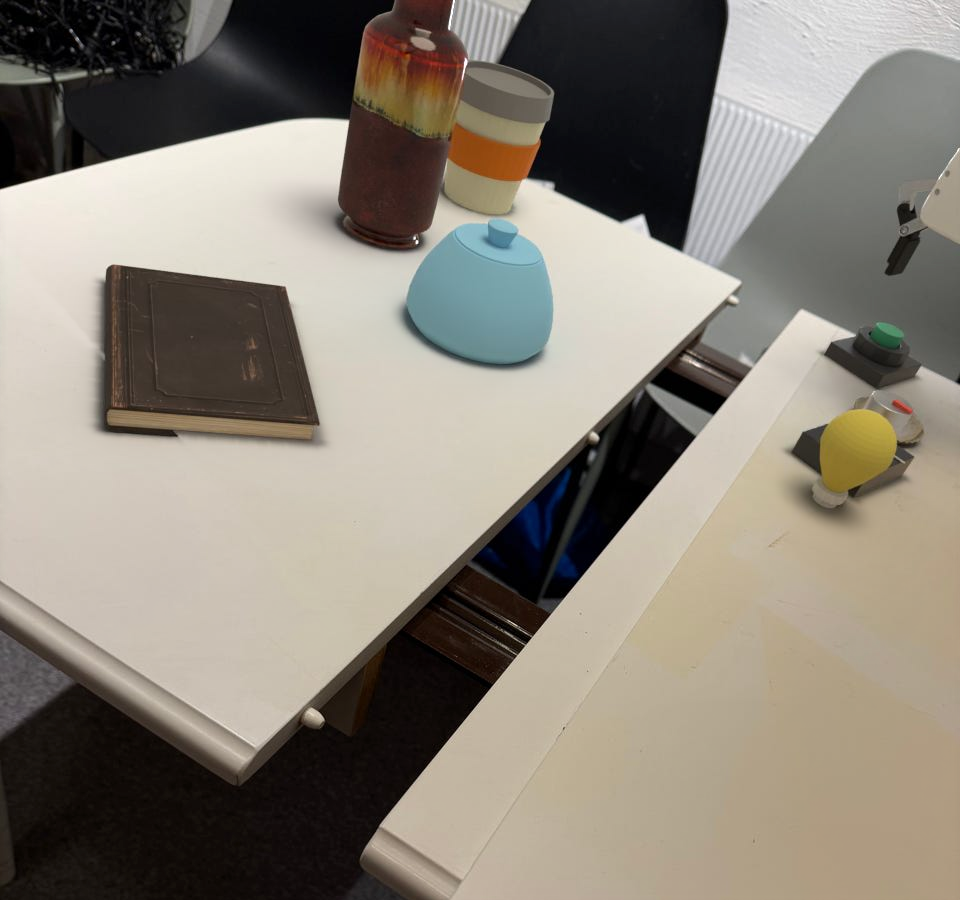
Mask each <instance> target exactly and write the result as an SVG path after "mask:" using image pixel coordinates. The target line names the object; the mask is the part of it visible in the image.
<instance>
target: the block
mask: <svg viewBox="0 0 960 900" xmlns="http://www.w3.org/2000/svg"><path fill="white" fill-rule="evenodd" d="M874 328H875V326H870V325H869V326H868V325H865V326H860V327H859V328H858V330H857V332H856V334H855V336H851V337H847V338H841V339H837V340H833V341H831V342H830V343H829V345H828V346H827V348H826V350H825V352H824V354H823V355H824V356H825V357H827V358H829V359H830V360H831V361H833V362H834V363H836V364H838V365H839V366H841V367H843V368H844V369H845V370H847V371H848V372H850V373H851V374H853V375H855V376H856V377H857V378H859V379H861V380H862V381H864V382H866V383H867V384H869V385H870V386H872V387H873V388H874V389H880V388H882V387H885V386H889V385H892V384H895V383H898V382H902V381H905V380H909V379H911V378H915V377H916V375H917V374H918V372H919V370H920V368H921V367H922V365H923V364H922V363H921V362H919V361H917V360H916V359H915V358H912V357H911V356H909V354H910V352H911V349H910V348H911V347H910V346H909V345H908V344H907V343H906V342H905V341H904V340H903V339H902V341H901V343H900V344H899V346H898V348H897V349H893V348H888V347H886V346H883V345H881V344H879V343H877V342H876V341H874V340H873V339H872V338H871V337H870V335H871V333H872V331H873V330H874Z"/></svg>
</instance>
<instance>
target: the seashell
mask: <svg viewBox="0 0 960 900" xmlns="http://www.w3.org/2000/svg"><path fill="white" fill-rule="evenodd" d="M869 397H870V396H865V397H863V396H862V397H859V398H858V399H856V400H855V402H854V408H853V410H857V409H863V408H864V406H865V404H866V403H867V401H868V399H869ZM916 415H917V414H915V411H914V412H913V414H912V416H911V417H910V419H909V420H908V422H907V423H906V425H905V426H904V428H903V430H902V431H901V433H900V434H899V436H898V437H897V444H904V445H908V444H915V443H916V444H917V443H918V442H920V441H921V440H922V439H924V436H925V429H924V426H923V424H922V423H921V421H920V420H919V419H918V418H917V416H916Z"/></svg>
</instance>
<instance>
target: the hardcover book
mask: <svg viewBox="0 0 960 900" xmlns="http://www.w3.org/2000/svg"><path fill="white" fill-rule="evenodd" d="M104 300H105V303H104V305H105V308H104V310H105V311H104V398H103V399H104V403H103V407H104V408H103V410H104V411H103V413H104V414H103V416H104V417H103V418H104V425H105V427H106V428H107V429H108V430H109V431H111V432H114V433H131V434H142V435H143V434H144V435H155V436H156V435H158V436H172V437H174V436H175V437H178V436H179V435H178V434H177V433H176V432H175V431H174V430H176V431H191V432H202V433H216V434H227V435H228V434H229V435H242V436H256V437H257V436H258V437H267V438H281V439H282V438H283V439H296V440H308V441H309V440H312V437H313V434H314V426H316V427H319V426H320V425H321V421H320V419H319V414H318V409H317V407H316V402H315V399H314V393H313V389H312V386H311V382H310V378H309V374H308V370H307V366H306V362H305V358H304V353H303V351H302V347H301V346H302V345H301V342H300V338H299V336H298V334H299V333H298V331H297V327H296V326H297V325H296V321H295V318H294V314H293V311H292V306H291V302H290V299H289V294H288V290H287V287H286V286H285V285H278V284H269V283H264V282H263V283H262V282H253V281H246V280H239V279H231V278H223V277H217V276H208V275H200V274H192V273H183V272H177V271H169V270H161V269H153V268H145V267H138V266H137V267H136V266H129V265H121V264H111V265H109V266H107V268H106V269H105V299H104Z"/></svg>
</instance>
